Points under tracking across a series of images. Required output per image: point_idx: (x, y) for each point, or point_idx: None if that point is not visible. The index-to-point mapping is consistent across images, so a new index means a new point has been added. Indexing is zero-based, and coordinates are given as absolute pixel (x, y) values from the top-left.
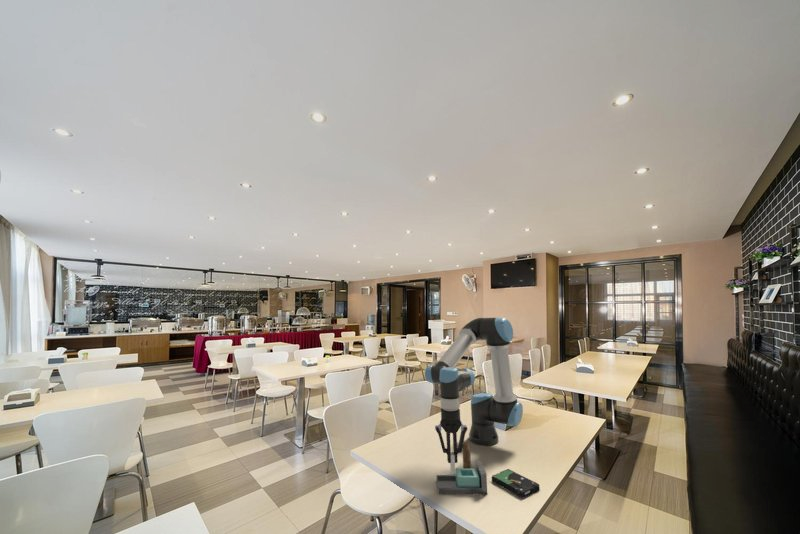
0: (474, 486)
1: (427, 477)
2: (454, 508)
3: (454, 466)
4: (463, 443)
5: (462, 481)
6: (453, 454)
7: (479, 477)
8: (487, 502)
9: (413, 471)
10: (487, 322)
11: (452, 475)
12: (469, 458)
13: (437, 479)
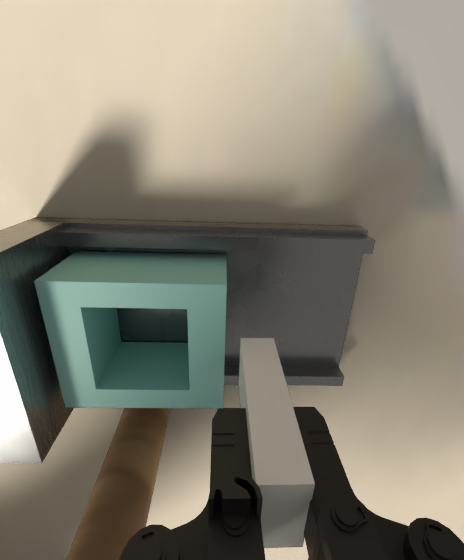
0: (107, 256)
1: (375, 391)
2: (295, 29)
3: (250, 373)
4: None
5: (191, 270)
6: (267, 499)
7: None
8: (36, 114)
9: (432, 439)
10: None
11: None
12: (94, 500)
13: (337, 357)
